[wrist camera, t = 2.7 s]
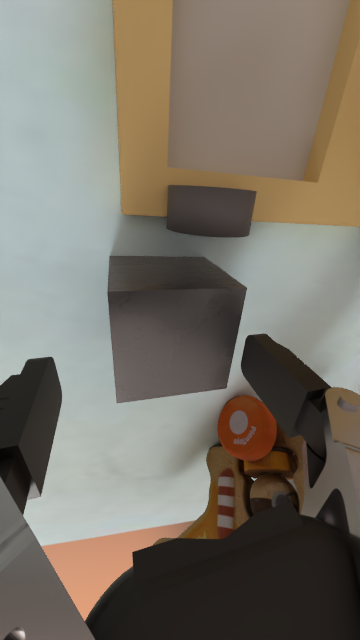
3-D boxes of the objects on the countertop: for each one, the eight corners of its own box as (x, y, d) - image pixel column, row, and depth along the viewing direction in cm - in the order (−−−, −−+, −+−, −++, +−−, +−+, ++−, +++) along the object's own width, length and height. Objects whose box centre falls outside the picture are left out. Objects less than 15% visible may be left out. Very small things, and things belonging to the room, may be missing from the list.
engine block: (203, 256, 14) (246, 287, 10) (195, 333, 17) (226, 388, 12) (109, 255, 13) (107, 291, 8) (115, 339, 16) (116, 403, 11)
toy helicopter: (300, 404, 24) (477, 605, 12) (172, 517, 29) (212, 741, 17) (254, 373, 20) (446, 622, 9) (113, 509, 25) (113, 793, 13)
